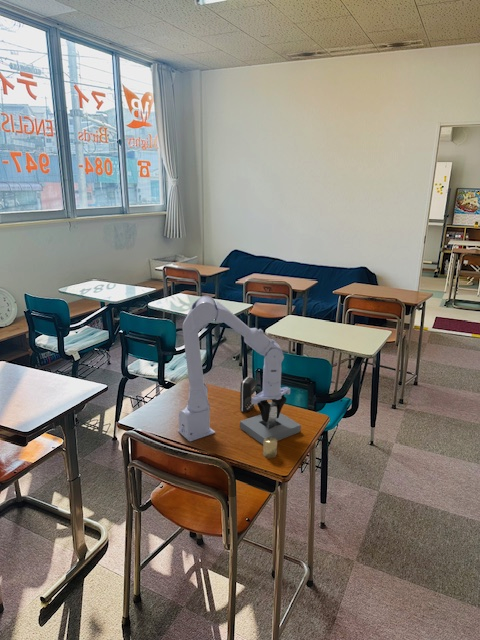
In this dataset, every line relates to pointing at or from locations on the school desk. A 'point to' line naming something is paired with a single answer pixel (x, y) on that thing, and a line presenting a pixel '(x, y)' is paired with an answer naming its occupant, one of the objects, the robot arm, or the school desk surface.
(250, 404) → the battery charger
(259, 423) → the hole board
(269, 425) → the long pin
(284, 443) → the school desk surface
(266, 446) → the short pin
